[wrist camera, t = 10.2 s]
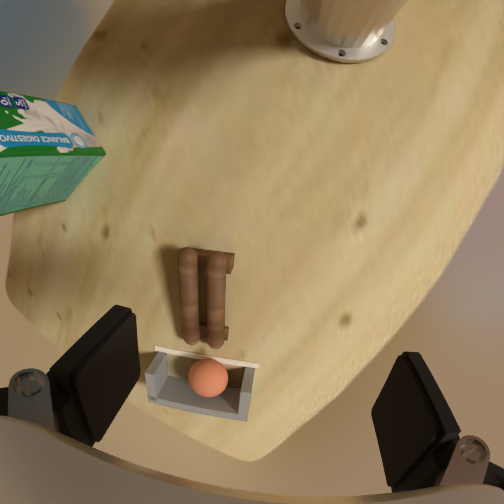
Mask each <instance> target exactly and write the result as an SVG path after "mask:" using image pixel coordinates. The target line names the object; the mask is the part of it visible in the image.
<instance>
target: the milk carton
mask: <svg viewBox="0 0 504 504" xmlns="http://www.w3.org/2000/svg"><path fill="white" fill-rule="evenodd" d="M105 154H106V153H105V151H104V150H103V148H102V147H101V145H100V144H99V142H98V141H97V139H96V138H95V136H94V135H93V133H92V131H91V130H90V128H89V127H88V125H87V124H86V122H85V120H84V119H83V117H82V116H81V114H80V113H79V111H78V109H77V108H76V106H74V105H70V104H65V103H61V102H56V101H51V100H46V99H41V98H36V97H31V96H25V95H20V94H14V93H7V92H1V91H0V216H2V215H6V214H10V213H14V212H18V211H22V210H26V209H30V208H35V207H39V206H43V205H48V204H52V203H57V202H62V201H65V200H66V199H67V198H68V197H69V195H70V194H71V193H72V192H73V191H74V189H75V188H76V187H77V186H78V185H79V183H80V182H81V181H82V180H83V179H84V178H85V176H86V175H87V174H88V173H89V172H90V171H91V170H92V169H93V167H94V166H95V165H96V164H97V163H98V162H99V161H100V160H101V159H102V158H103V157H104V156H105Z"/></svg>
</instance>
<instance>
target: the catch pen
mask: <svg viewBox="0 0 504 504" xmlns="http://www.w3.org/2000/svg"><path fill="white" fill-rule="evenodd" d="M254 370H255V368H250V367H245V372H244V377H243V382H242V387H241V389H238V388H232V387H226V388H225V390H224V391H223V392H222V393H220V394H219V395H217V396H214V397H203V396H200V395H198V394H197V393H195V392H194V391H193V389H192V388H191V386H190V384H189V381H188V380H186V379H182V378H177V377H172V376H168V364H167V353H163V352H158V353H157V355H156V356H155V358H154V359H153V361H152V362H151V364H150V365H149V367H148V368H147V370H146V371H145V379H146V387H147V394H148V400H149V402H151V403H155V404H159V405H163V406H167V407H171V408H175V409H179V410H184V411H189V412H193V413H198V414H204V415H209V416H215V417H220V418H226V419H233V420H240V421H247V418H248V412H249V406H250V399H251V392H252V385H253V377H254Z"/></svg>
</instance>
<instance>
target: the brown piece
mask: <svg viewBox="0 0 504 504" xmlns="http://www.w3.org/2000/svg"><path fill="white" fill-rule="evenodd" d="M234 254H235V253H228V252H220V251H211V250H203V249H194V248H189V247H185V248H183V249H181V250H180V252H179V253H178V272H179V288H180V302H181V315H182V326H183V337H184V340H185V342H186V343H187V344H189V345H194V344H197V343H198V341H199V339H200V336H202V337H207V341H208V345H209V346H210V347H211V348H213V349H219V348H221V347H222V346H223V344H224V340H228V331H229V327H226V326H225V291H226V274H230V273H231V271H232V269H233V266H234ZM198 270H203V271H206V291H207V324H206V323H200V322H199V304H198Z"/></svg>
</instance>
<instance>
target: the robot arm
mask: <svg viewBox="0 0 504 504" xmlns="http://www.w3.org/2000/svg"><path fill="white" fill-rule="evenodd" d="M406 1H407V0H286V5H285V16H286V22H287V24H288V26H289V29H290V30H291V32H292V33H293V35H294V36H295V38H296V39H297V40H298V41H299V42H300V43H301V44H302V45H304V46H305V47H307V48H308V49H309V50H311V51H312V52H314V53H316V54H318V55H320V56H322V57H325V58H327V59H330V60H333V61H338V62H342V63H363V62H367V61H371V60H373V59H375V58H377V57H379V56H381V55H382V54H383V53H384V52H385V51H387V49H388V48H389V47H390V46H391V44H392V42H393V40H394V37H395V32H396V28H395V21H394V17H395V16H396V14H397V13H398V12H399V10H400V9H401V8H402V6H403V5H404V4H405V3H406ZM296 28H299V29H296ZM339 54H341V55H342V56H343V57H341V56H339ZM139 377H140V362H139V352H138V340H137V326H136V315H135V314H134V313H132V310H131V309H130V308H127V307H123V306H119V305H114V306H113V307H112V308H111V309H110V310H109V311H108V312H107V313H106V314H105V315H104V316H103V317H101V318H100V319H99V320H98V321H97V322H96V323H95V324H94V325H93V326H92V327H91V328H90V329H89V330H88V331H87V332H86V333H85V334H84V335H83V336H82V337H81V338H80V339H79V340H78V341H77V342H76V343H75V344H74V345H73V346H72V347H71V348H70V349H69V350H68V351H67V352H66V353H65V354H64V355H63V356H62V357H61V358H60V359H59V360H58V361H57V362H56V363H55V364H54V365H53V366H52V367H51V368H50V371H49V372H48V373H47V374H45V373H44V372H42V371H41V370H38V369H33V368H32V369H31V368H28V369H23V370H21V371H18V372H17V373H15V374H14V375H13V376H12V378H11V379H10V382H9V387H5V388H0V504H504V469H503V468H501V467H499V466H497V465H495V464H493V463H491V462H489V459H490V451H489V448H488V446H487V444H486V443H485V442H484V441H483V440H482V439H480V438H478V437H476V436H473V435H472V436H471V435H470V436H469V435H467V436H464V437H462V438H461V439H460V437H459V435H458V434H459V433H460V432H461V430H460V428H459V426H458V424H457V422H456V420H455V418H454V416H453V414H452V412H451V410H450V408H449V406H448V404H447V402H446V400H445V398H444V396H443V394H442V392H441V390H440V389H439V387H438V385H437V383H436V381H435V379H434V377H433V376H432V374H431V372H430V370H429V368H428V367H427V365H426V363H425V361H424V360H423V358H422V356H421V354H420V353H418V352H403V353H402V355H400V356H398V357H397V359H396V361H395V363H394V366H393V368H392V370H391V372H390V374H389V376H388V378H387V380H386V382H385V384H384V386H383V388H382V390H381V392H380V394H379V396H378V398H377V400H376V402H375V404H374V406H373V408H372V412H371V413H372V414H371V415H372V420H373V424H374V428H375V432H376V436H377V440H378V445H379V449H380V453H381V458H382V462H383V467H384V472H385V476H386V481H387V485H388V486H389V487H391V489H392V493H385V494H375V495H360V496H321V497H320V496H294V495H279V494H269V493H260V492H252V491H245V490H238V489H232V488H226V487H221V486H215V485H210V484H206V483H201V482H197V481H192V480H188V479H184V478H180V477H176V476H173V475H169V474H165V473H162V472H159V471H155V470H152V469H149V468H146V467H143V466H140V465H137V464H134V463H131V462H129V461H126V460H123V459H120V458H118V457H115V456H113V455H110V454H107V453H105V452H102V451H100V450H97V449H95V448H93V447H92V446H93V445H94V443H95V442H99V441H100V440H101V439H102V438H103V436H104V434H105V433H106V431H107V429H108V428H109V426H110V424H111V423H112V421H113V420H114V418H115V416H116V415H117V413H118V411H119V410H120V408H121V407H122V405H123V403H124V402H125V400H126V398H127V397H128V395H129V394H130V392H131V390H132V389H133V387H134V386H135V384H136V382H137V381H138V379H139Z"/></svg>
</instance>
